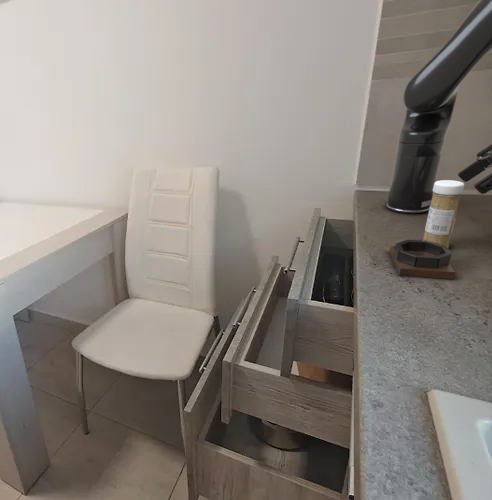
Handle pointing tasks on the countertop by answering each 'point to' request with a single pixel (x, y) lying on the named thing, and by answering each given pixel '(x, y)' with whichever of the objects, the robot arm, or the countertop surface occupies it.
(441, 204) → the sprinkles bottle
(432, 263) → the base pad
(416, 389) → the countertop surface
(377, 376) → the countertop surface
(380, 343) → the countertop surface
